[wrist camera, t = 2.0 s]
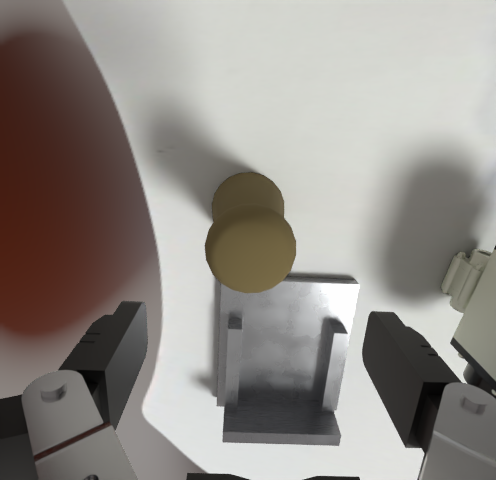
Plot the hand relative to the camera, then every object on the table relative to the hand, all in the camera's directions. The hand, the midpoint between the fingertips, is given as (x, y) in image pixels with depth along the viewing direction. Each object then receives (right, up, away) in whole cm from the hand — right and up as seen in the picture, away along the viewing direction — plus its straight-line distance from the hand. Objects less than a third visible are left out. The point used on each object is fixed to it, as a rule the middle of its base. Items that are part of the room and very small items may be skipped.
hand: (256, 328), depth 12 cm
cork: (0, +6, +16) cm, 17 cm away
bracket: (+3, -7, +21) cm, 22 cm away
